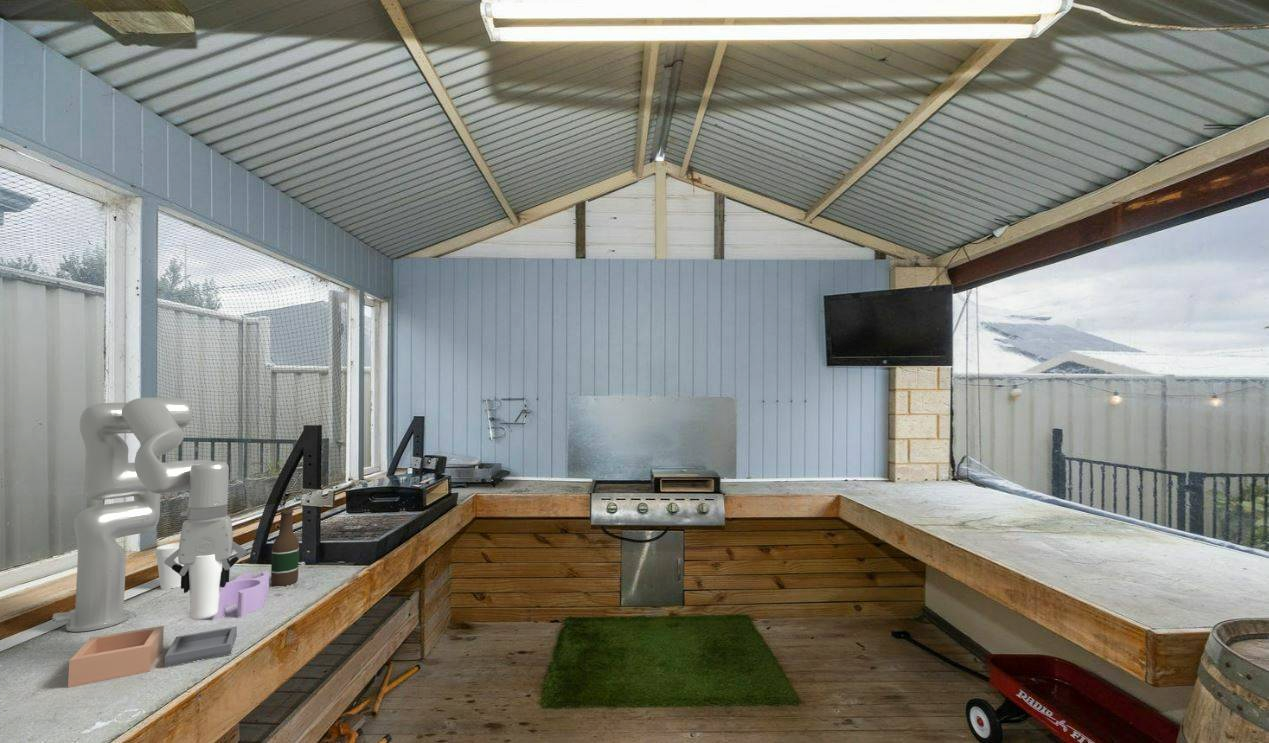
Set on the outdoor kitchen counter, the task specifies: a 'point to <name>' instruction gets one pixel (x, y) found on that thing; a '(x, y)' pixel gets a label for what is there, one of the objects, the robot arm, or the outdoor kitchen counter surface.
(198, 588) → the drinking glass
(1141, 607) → the outdoor kitchen counter surface
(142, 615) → the outdoor kitchen counter surface
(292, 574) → the beer bottle
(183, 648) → the charcoal tray
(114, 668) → the terracotta holder
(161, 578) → the foam cup
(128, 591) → the outdoor kitchen counter surface
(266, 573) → the clip
